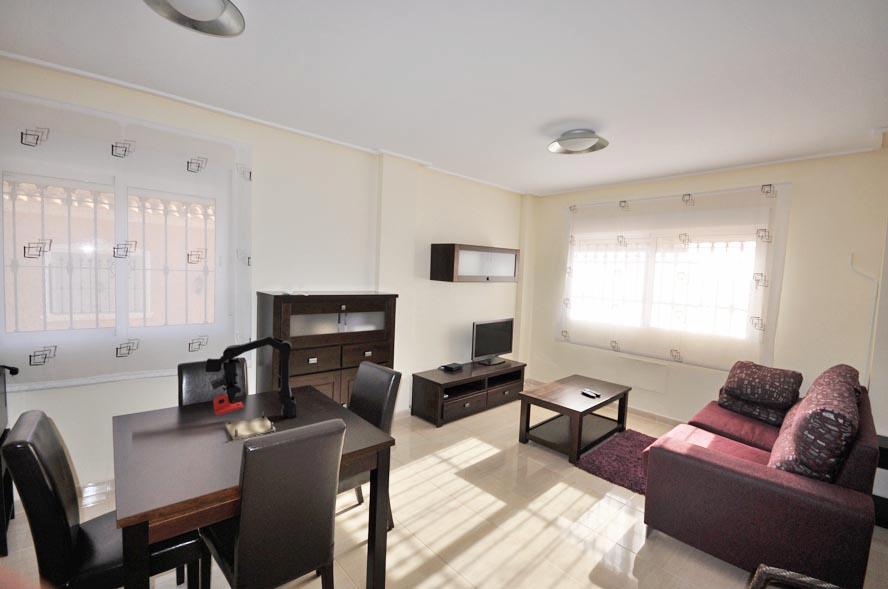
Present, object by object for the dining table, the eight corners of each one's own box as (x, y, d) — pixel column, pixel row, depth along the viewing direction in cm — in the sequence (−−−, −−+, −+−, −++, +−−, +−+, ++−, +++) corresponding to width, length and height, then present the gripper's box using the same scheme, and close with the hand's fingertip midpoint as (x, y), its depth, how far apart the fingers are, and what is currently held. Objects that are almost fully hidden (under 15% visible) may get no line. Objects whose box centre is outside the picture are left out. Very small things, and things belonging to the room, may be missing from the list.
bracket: (216, 415, 190) (214, 400, 188) (214, 411, 194) (212, 396, 192) (243, 407, 197) (241, 393, 195) (241, 403, 201) (239, 389, 199)
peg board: (265, 419, 201) (265, 410, 201) (275, 431, 187) (275, 422, 187) (225, 426, 190) (225, 417, 190) (233, 440, 176) (233, 431, 176)
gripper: (208, 369, 198) (208, 399, 199) (214, 378, 183) (214, 411, 184) (233, 366, 204) (233, 395, 206) (241, 375, 190) (241, 407, 191)
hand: (230, 402), depth 196 cm, fingers closed on bracket
